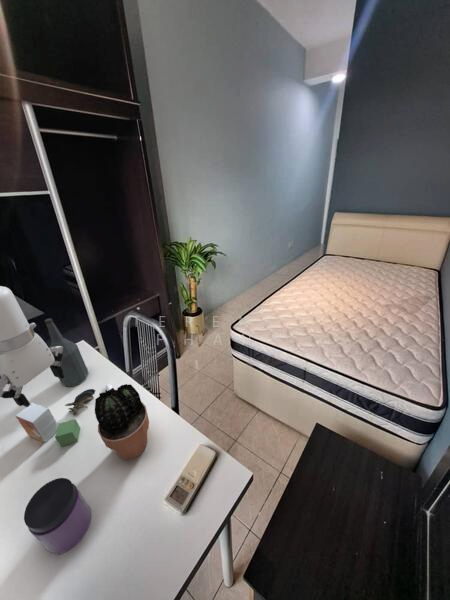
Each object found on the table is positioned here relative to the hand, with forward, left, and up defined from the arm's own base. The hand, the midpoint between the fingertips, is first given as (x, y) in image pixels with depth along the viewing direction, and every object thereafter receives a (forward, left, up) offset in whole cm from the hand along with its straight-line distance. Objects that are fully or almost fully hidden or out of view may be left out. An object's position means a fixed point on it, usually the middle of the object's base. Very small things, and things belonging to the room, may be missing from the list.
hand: (43, 390), depth 65 cm
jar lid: (+2, -21, -14) cm, 25 cm away
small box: (-12, +10, -27) cm, 31 cm away
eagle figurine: (-1, +17, -27) cm, 32 cm away
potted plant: (+17, -5, -27) cm, 32 cm away
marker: (+10, +17, -27) cm, 33 cm away
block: (-3, +5, -26) cm, 27 cm away
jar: (+2, -21, -26) cm, 34 cm away
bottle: (-7, +34, -27) cm, 44 cm away
